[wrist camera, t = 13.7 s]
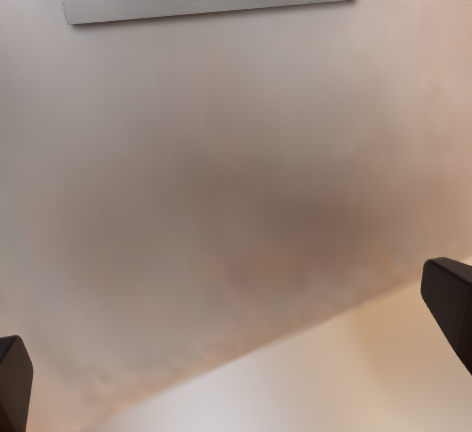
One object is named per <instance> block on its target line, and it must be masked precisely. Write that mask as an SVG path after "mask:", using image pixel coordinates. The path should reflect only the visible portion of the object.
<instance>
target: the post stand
mask: <svg viewBox="0 0 472 432" xmlns="http://www.w3.org/2000/svg"><path fill="white" fill-rule="evenodd" d="M332 1H344V0H62V4H63V8H64V13H65V17H66V21H67V25H70V24H81V23H93V22H104V21H116V20H127V19H138V18H150V17H161V16H173V15H184V14H196V13H207V12H218V11H230V10H241V9H253V8H264V7H275V6H287V5H298V4H310V3H321V2H332Z"/></svg>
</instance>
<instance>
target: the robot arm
mask: <svg viewBox="0 0 472 432" xmlns="http://www.w3.org/2000/svg"><path fill="white" fill-rule="evenodd" d="M421 295H422V298H423V300H424V302H425V303H426V305H427V307H428V308H429V310H430V312H431V313H432V315H433V317H434V318H435V320H436V322H437V323H438V325H439V327H440V328H441V330H442V332H443V333H444V335H445V337H446V338H447V340H448V342H449V343H450V345H451V347H452V348H453V350H454V351H455V353H456V354H457V356H458V357H459V359H460V360H461V361H462V363H463V364H464V365H465V367H466V368H467V370H468V371H469V372H470V374H471V375H472V266H470V265H467V264H464V263H461V262H458V261H455V260H452V259H449V258H446V257H439V258H433V259H428V260H427V261H426V262H425V263H424V267H423V274H422V281H421ZM32 380H33V366H32V362H31V360H30V357H29V355H28V353H27V350H26V348H25V345H24V343H23V340H22V339H21V337H20V336H18V335H12V336H7V337H1V338H0V432H25V431H26V424H27V417H28V409H29V402H30V395H31V387H32Z"/></svg>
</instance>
